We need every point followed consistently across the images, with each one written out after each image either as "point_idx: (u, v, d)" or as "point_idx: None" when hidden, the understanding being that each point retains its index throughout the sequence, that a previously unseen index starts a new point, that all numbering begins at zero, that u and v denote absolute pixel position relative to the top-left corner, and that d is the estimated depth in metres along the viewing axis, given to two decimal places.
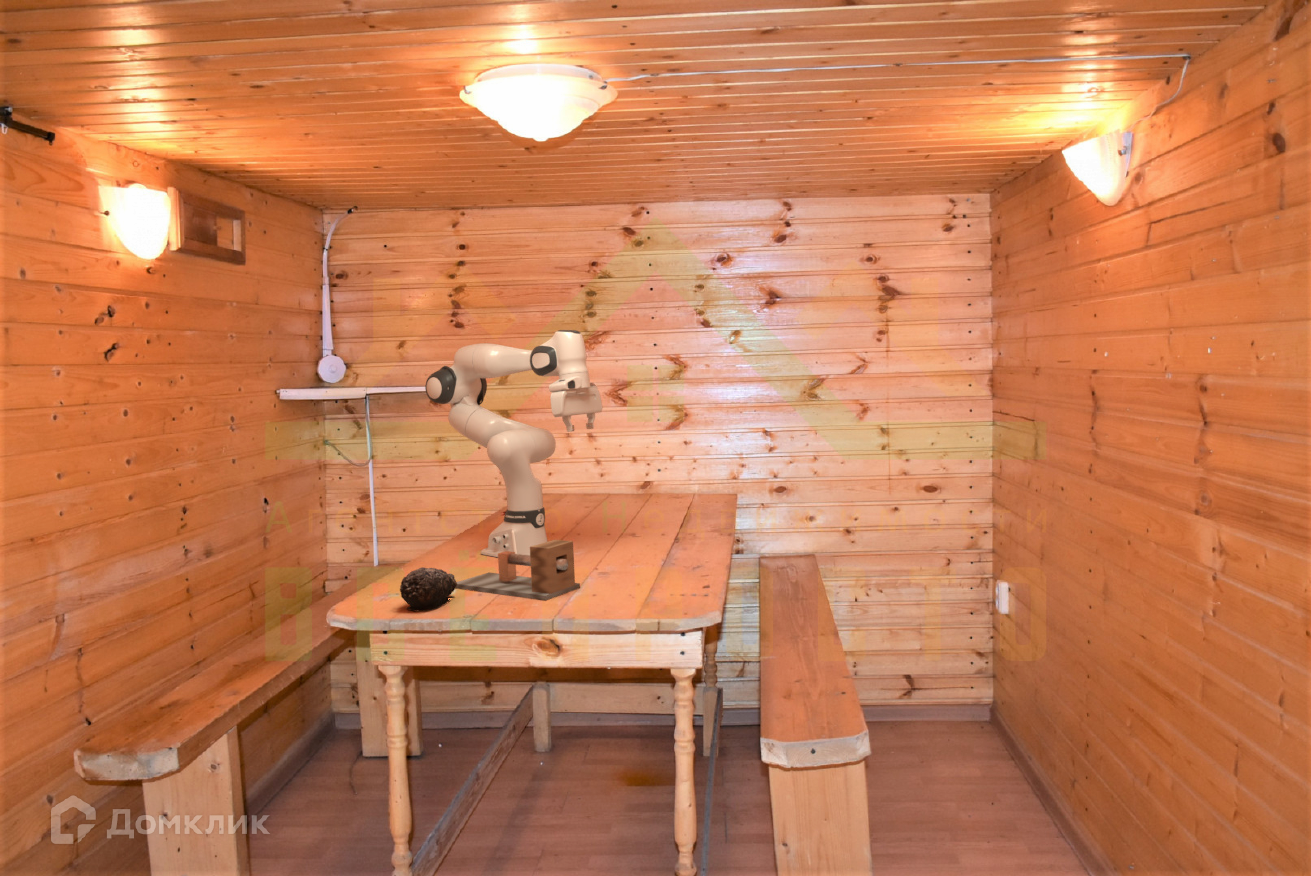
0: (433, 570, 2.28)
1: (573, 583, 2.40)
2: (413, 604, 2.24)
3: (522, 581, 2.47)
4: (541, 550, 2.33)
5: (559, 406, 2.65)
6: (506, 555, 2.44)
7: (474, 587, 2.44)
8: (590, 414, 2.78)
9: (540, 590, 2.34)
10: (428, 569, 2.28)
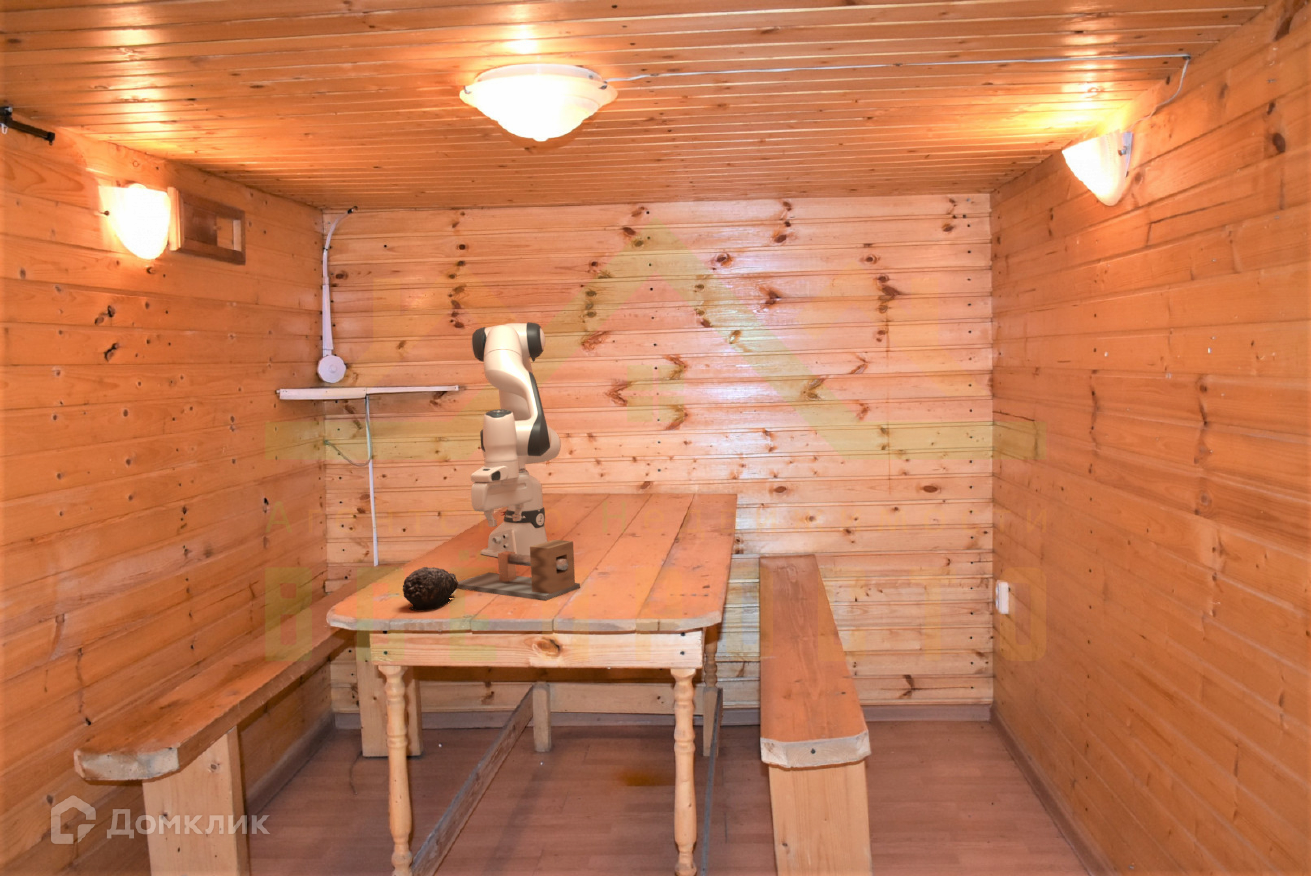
0: (436, 570, 2.29)
1: (573, 583, 2.40)
2: (416, 604, 2.25)
3: (522, 581, 2.47)
4: (541, 550, 2.33)
5: (480, 501, 2.36)
6: (506, 555, 2.44)
7: (474, 587, 2.44)
8: (518, 504, 2.49)
9: (540, 590, 2.34)
10: (431, 569, 2.28)
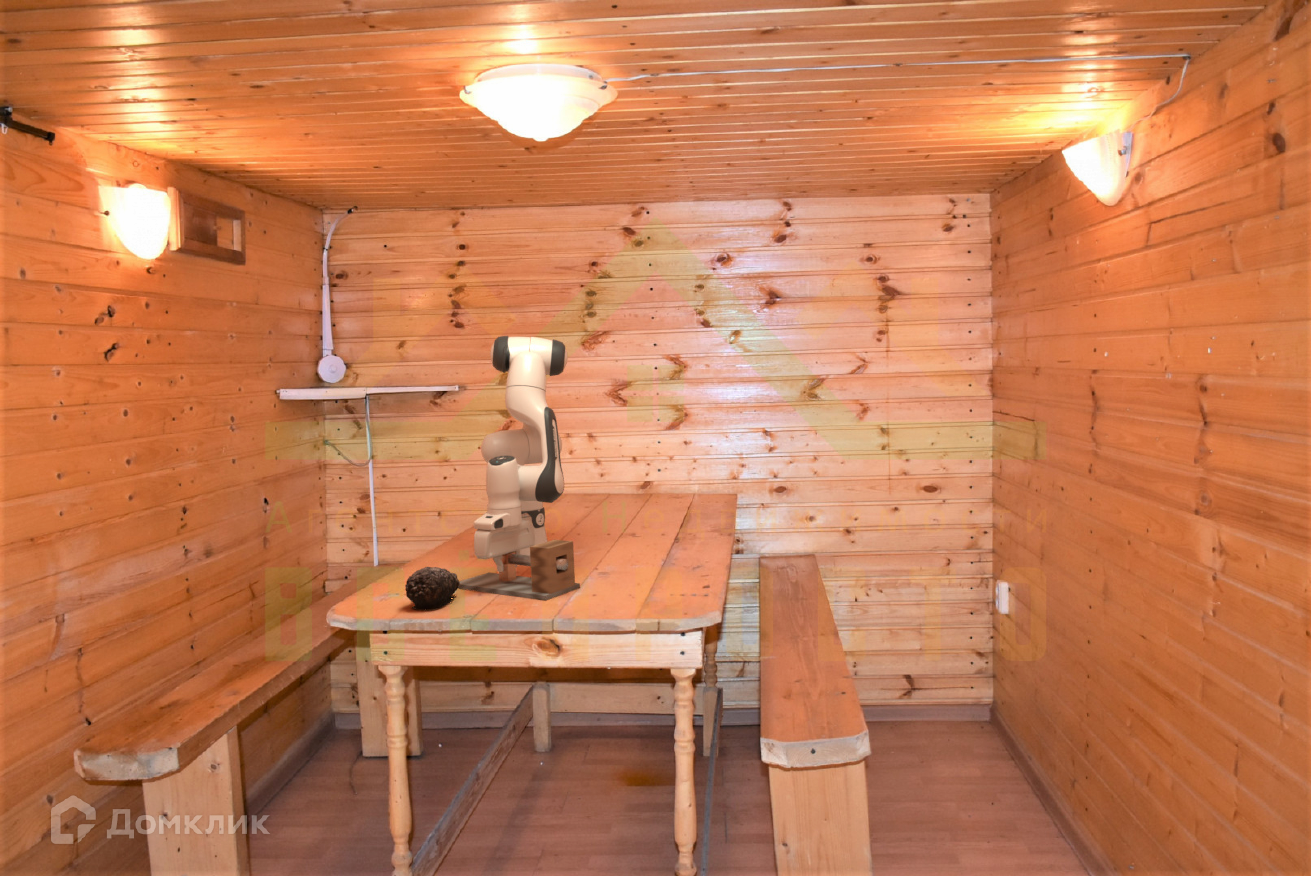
0: (438, 569, 2.29)
1: (573, 583, 2.40)
2: (419, 603, 2.25)
3: (522, 581, 2.47)
4: (541, 550, 2.33)
5: (483, 549, 2.37)
6: (506, 555, 2.44)
7: (474, 587, 2.44)
8: (514, 551, 2.48)
9: (540, 590, 2.34)
10: (433, 568, 2.28)
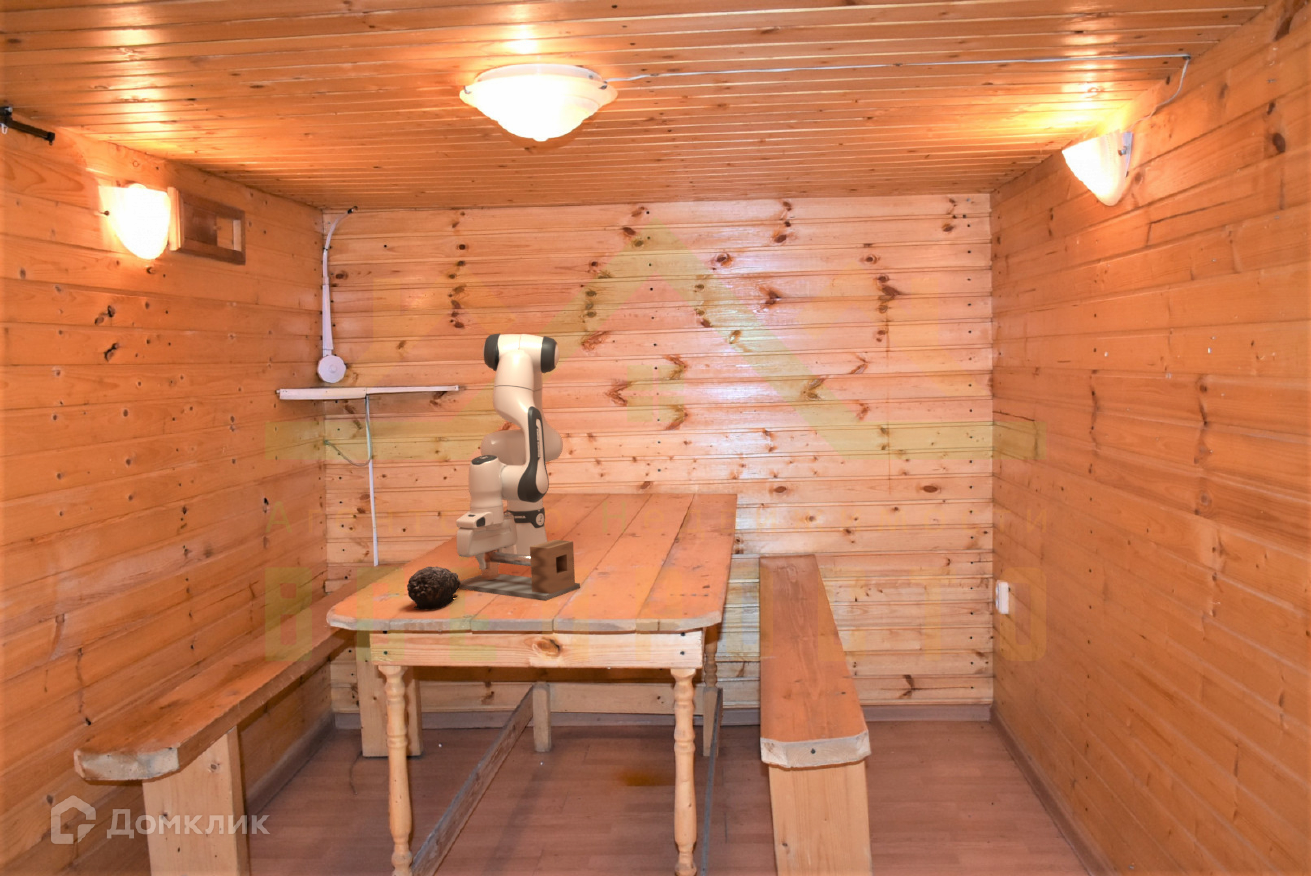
0: (440, 569, 2.29)
1: (573, 583, 2.40)
2: (421, 603, 2.25)
3: (522, 581, 2.47)
4: (541, 550, 2.33)
5: (465, 547, 2.40)
6: (488, 553, 2.47)
7: (474, 587, 2.44)
8: (496, 549, 2.52)
9: (540, 590, 2.34)
10: (435, 568, 2.29)
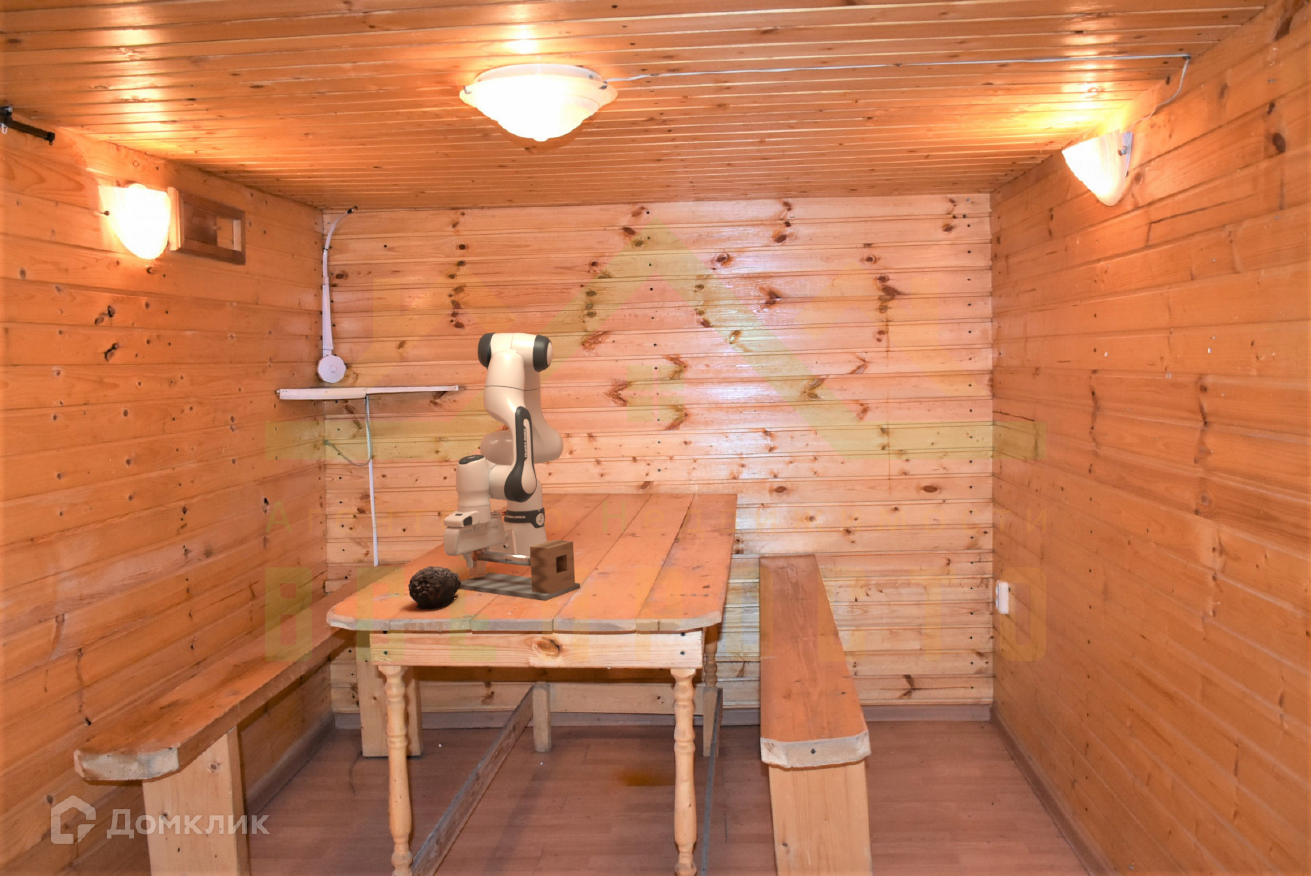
0: (441, 569, 2.30)
1: (573, 583, 2.40)
2: (423, 603, 2.25)
3: (522, 581, 2.47)
4: (541, 550, 2.33)
5: (452, 545, 2.43)
6: (476, 552, 2.50)
7: (474, 587, 2.44)
8: (484, 548, 2.54)
9: (540, 590, 2.34)
10: (436, 568, 2.29)
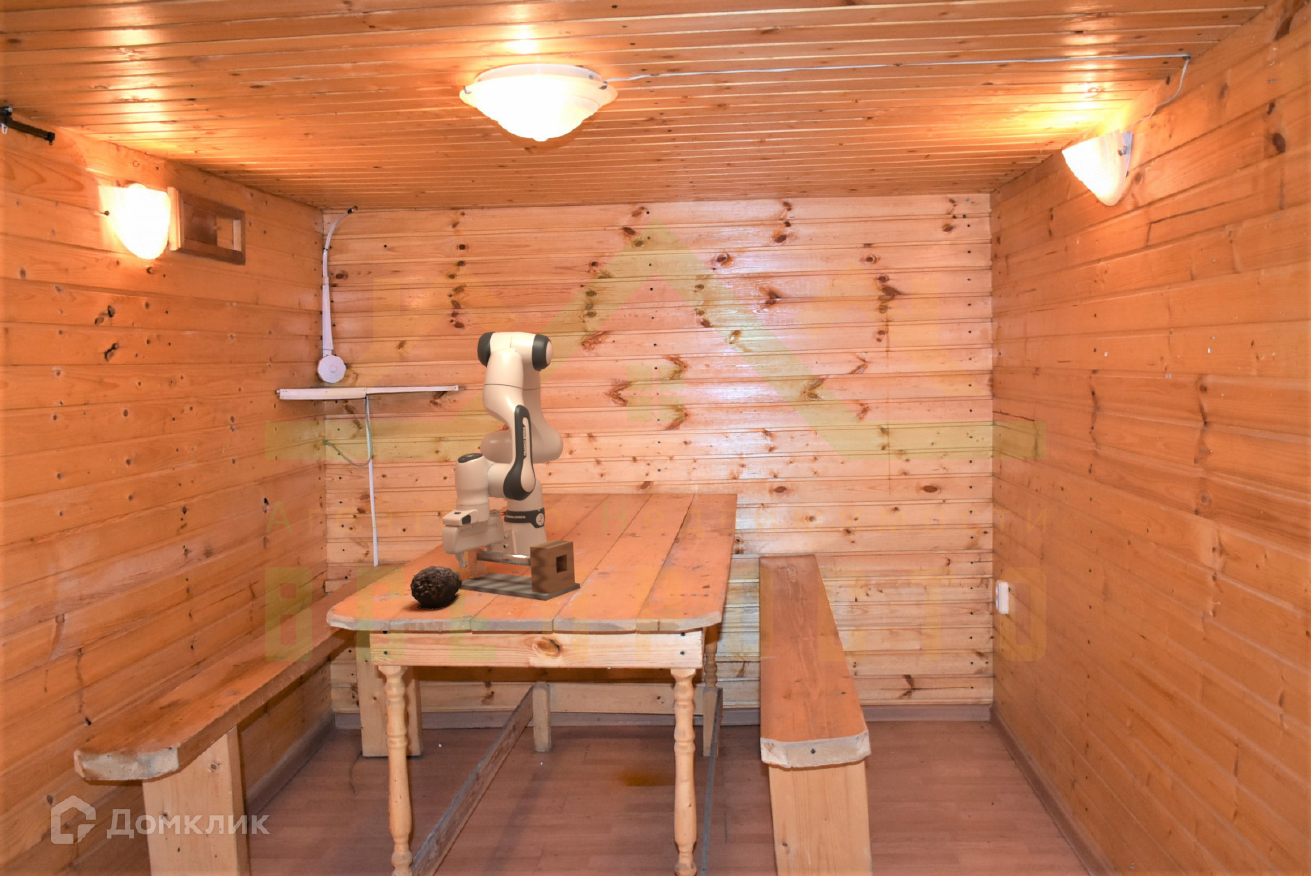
0: (443, 568, 2.30)
1: (573, 583, 2.40)
2: (425, 602, 2.25)
3: (522, 581, 2.47)
4: (541, 550, 2.33)
5: (450, 544, 2.43)
6: (475, 552, 2.50)
7: (474, 587, 2.44)
8: (489, 545, 2.56)
9: (540, 590, 2.34)
10: (438, 567, 2.29)
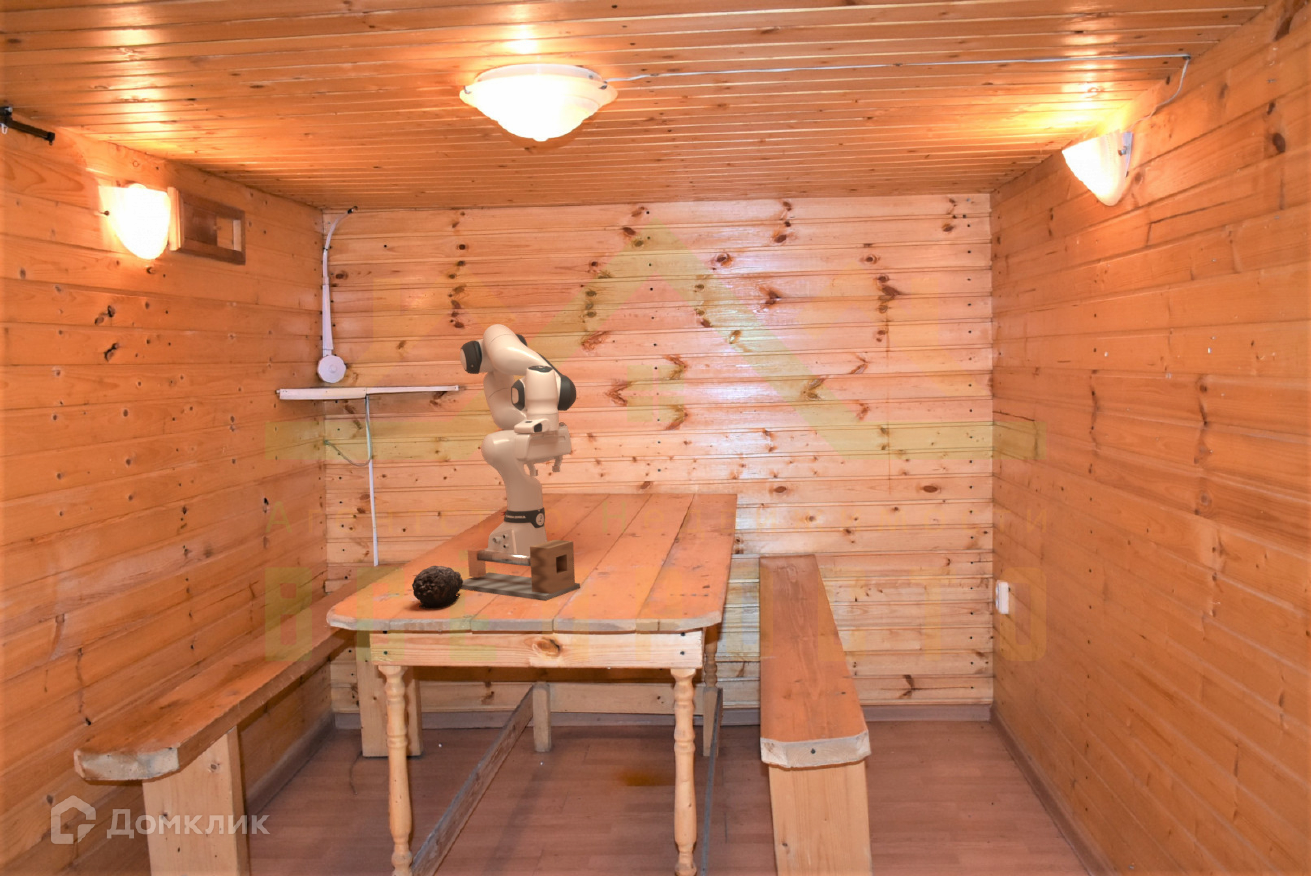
0: (445, 568, 2.30)
1: (573, 583, 2.40)
2: (427, 602, 2.26)
3: (522, 581, 2.47)
4: (541, 550, 2.33)
5: (523, 451, 2.48)
6: (475, 552, 2.50)
7: (474, 587, 2.44)
8: (557, 456, 2.62)
9: (540, 590, 2.34)
10: (440, 567, 2.30)
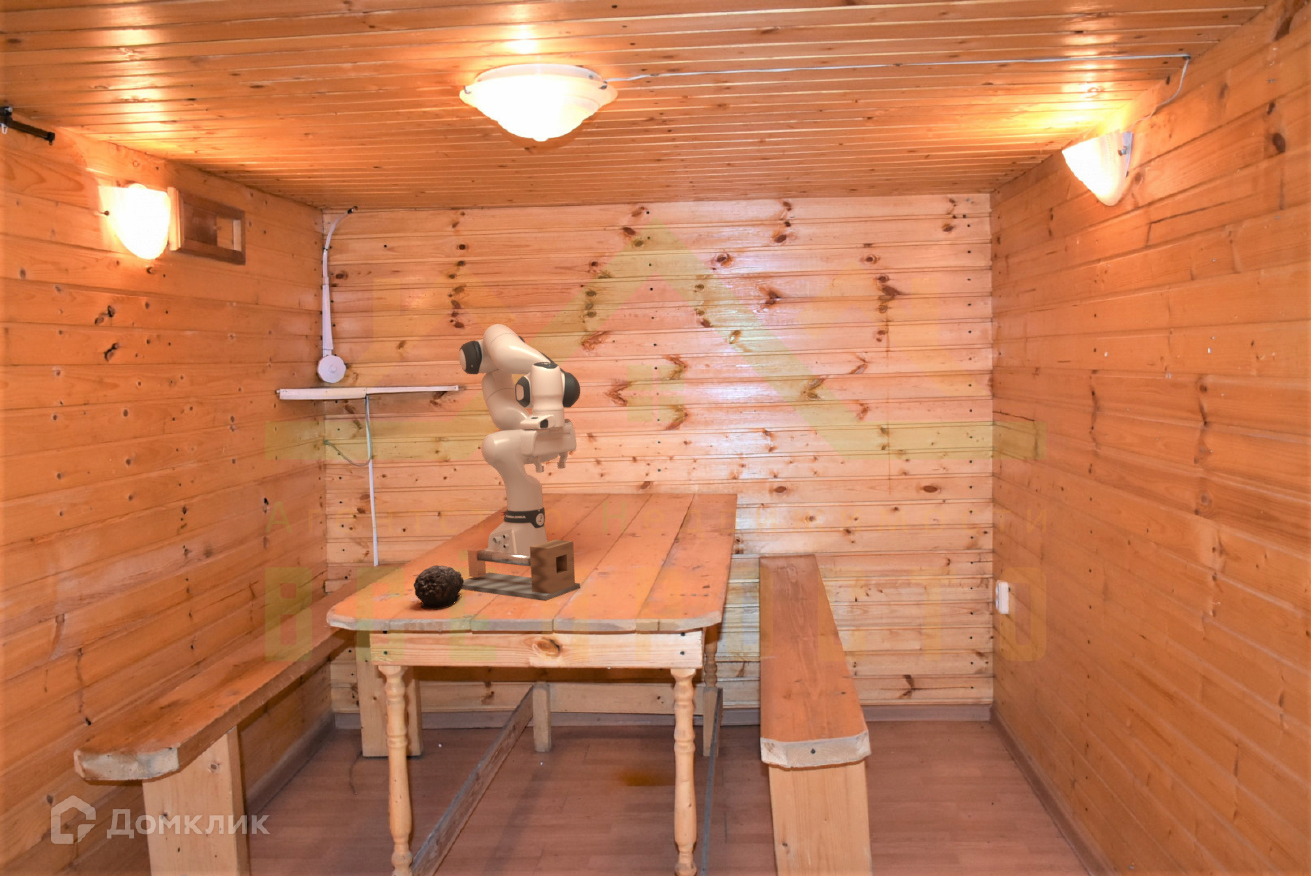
0: (446, 568, 2.30)
1: (573, 583, 2.40)
2: (429, 602, 2.26)
3: (522, 581, 2.47)
4: (541, 550, 2.33)
5: (529, 447, 2.49)
6: (475, 552, 2.50)
7: (474, 587, 2.44)
8: (562, 453, 2.62)
9: (540, 590, 2.34)
10: (441, 567, 2.30)
